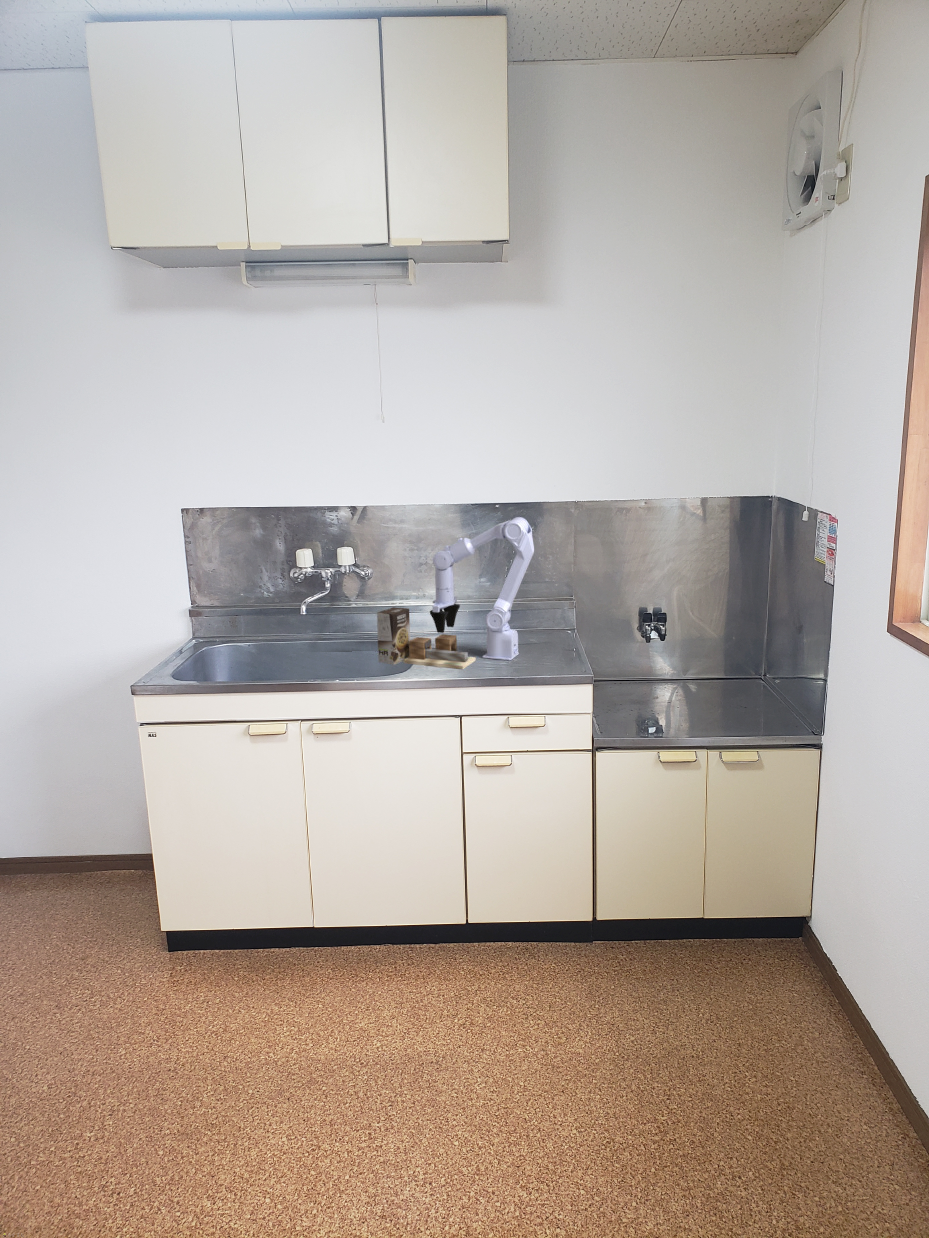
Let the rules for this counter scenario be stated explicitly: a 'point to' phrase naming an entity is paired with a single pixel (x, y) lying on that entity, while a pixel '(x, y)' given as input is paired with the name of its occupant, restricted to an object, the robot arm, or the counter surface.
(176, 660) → the counter surface
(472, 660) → the rail board
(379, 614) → the coffee box
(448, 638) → the forked wooden block
